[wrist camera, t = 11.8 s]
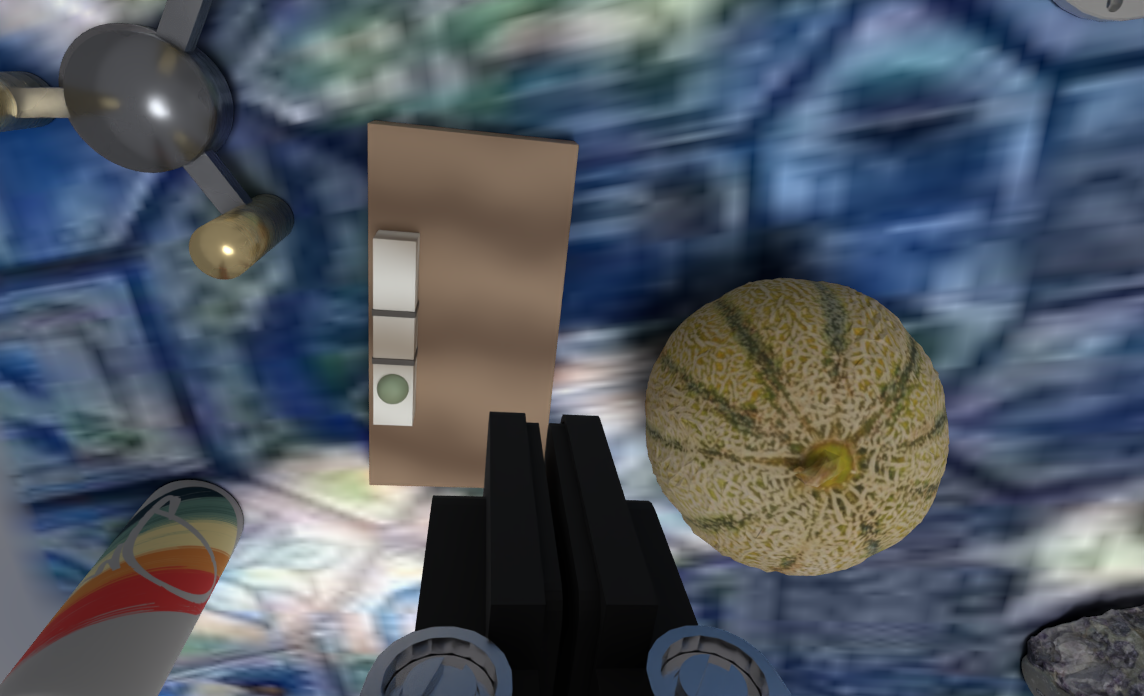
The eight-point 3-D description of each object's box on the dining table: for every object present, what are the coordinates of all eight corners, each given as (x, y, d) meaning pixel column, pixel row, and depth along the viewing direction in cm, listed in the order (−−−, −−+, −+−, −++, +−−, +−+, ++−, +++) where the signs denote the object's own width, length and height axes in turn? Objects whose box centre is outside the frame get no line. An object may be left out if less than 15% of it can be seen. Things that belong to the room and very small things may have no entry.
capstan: (250, -65, 30) (186, -101, 23) (297, 240, 35) (255, 278, 28) (-51, -74, 28) (-206, -114, 22) (45, 244, 34) (-58, 286, 27)
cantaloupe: (785, 491, 45) (915, 678, 31) (583, 434, 41) (630, 616, 28) (898, 292, 40) (1112, 409, 26) (681, 209, 37) (796, 294, 23)
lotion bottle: (226, 468, 40) (1, 815, 21) (259, 544, 42) (80, 917, 23) (129, 487, 39) (-185, 854, 21) (167, 562, 42) (-86, 953, 23)
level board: (374, 120, 33) (357, 128, 29) (573, 141, 35) (586, 151, 30) (374, 465, 41) (361, 513, 36) (538, 470, 42) (544, 516, 38)
